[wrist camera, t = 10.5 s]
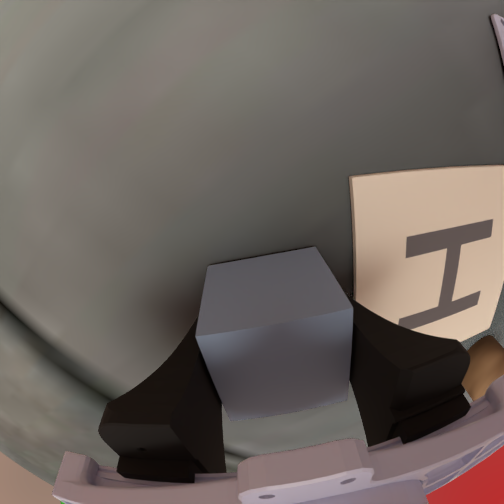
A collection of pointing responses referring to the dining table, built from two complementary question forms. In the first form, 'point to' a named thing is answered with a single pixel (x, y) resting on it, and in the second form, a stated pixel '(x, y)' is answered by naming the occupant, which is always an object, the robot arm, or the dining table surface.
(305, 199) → the dining table surface
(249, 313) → the slate cube
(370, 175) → the letter board
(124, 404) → the robot arm
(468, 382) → the walnut cylinder
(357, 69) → the dining table surface
